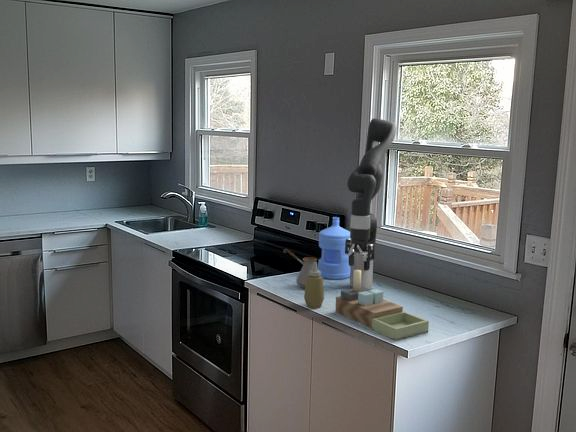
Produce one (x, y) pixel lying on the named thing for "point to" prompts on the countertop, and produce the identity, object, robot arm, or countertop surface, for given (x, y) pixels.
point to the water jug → (334, 252)
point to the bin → (400, 325)
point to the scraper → (354, 288)
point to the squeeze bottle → (314, 288)
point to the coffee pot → (303, 269)
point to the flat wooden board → (365, 310)
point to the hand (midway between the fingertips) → (358, 268)
